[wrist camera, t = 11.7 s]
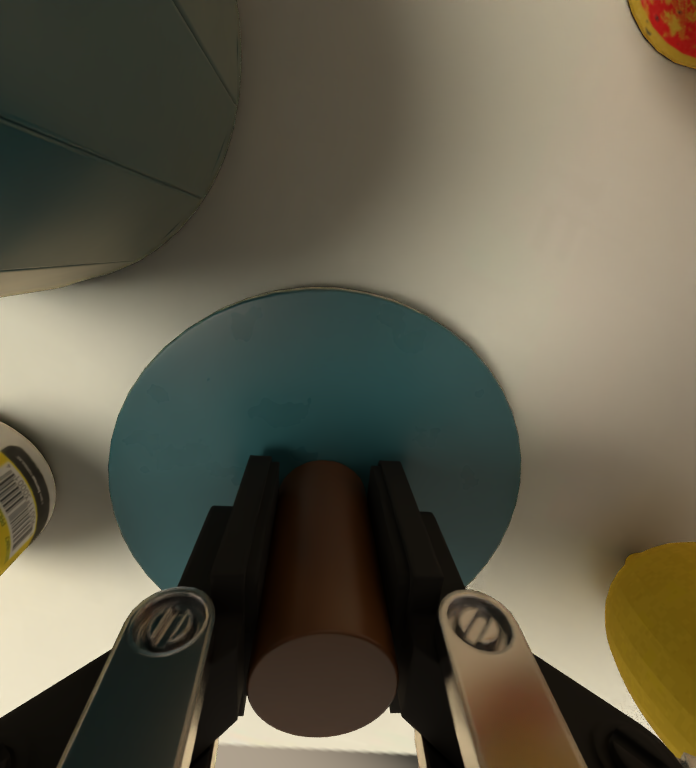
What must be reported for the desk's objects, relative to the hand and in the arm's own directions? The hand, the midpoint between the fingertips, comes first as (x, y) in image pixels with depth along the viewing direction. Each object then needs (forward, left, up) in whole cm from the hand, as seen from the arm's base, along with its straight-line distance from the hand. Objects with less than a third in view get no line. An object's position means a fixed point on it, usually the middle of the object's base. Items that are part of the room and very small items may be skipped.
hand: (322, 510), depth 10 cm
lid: (0, 0, -1) cm, 1 cm away
